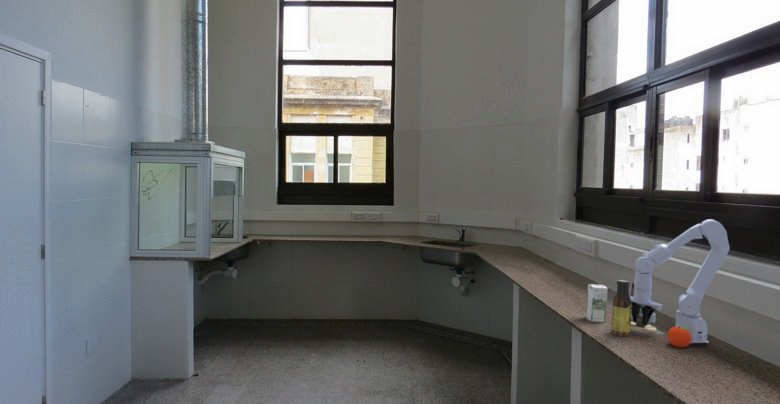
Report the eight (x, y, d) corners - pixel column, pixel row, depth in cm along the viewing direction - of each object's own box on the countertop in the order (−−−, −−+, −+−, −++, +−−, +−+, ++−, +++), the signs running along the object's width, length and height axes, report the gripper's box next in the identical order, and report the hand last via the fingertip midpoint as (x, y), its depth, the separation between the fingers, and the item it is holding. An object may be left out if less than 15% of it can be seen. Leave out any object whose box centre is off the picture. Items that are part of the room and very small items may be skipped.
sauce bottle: (632, 338, 158) (636, 283, 158) (613, 336, 160) (617, 282, 159) (626, 332, 165) (630, 279, 164) (608, 330, 166) (612, 278, 165)
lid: (663, 333, 164) (663, 320, 164) (637, 333, 163) (638, 320, 162) (642, 324, 175) (643, 311, 175) (618, 324, 173) (619, 311, 173)
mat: (666, 335, 164) (666, 333, 164) (637, 335, 162) (637, 334, 162) (642, 324, 176) (642, 323, 176) (615, 325, 174) (615, 324, 174)
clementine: (690, 345, 153) (692, 325, 153) (697, 352, 147) (698, 331, 147) (664, 342, 156) (665, 322, 156) (669, 348, 150) (670, 327, 149)
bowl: (660, 324, 177) (660, 315, 177) (640, 324, 176) (640, 315, 176) (643, 317, 186) (644, 308, 186) (624, 317, 185) (625, 309, 184)
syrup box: (600, 319, 181) (602, 284, 180) (605, 323, 175) (607, 287, 174) (585, 318, 181) (587, 283, 181) (590, 322, 175) (592, 286, 175)
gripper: (668, 292, 164) (665, 328, 164) (631, 283, 176) (628, 317, 177) (657, 293, 160) (654, 330, 161) (619, 285, 173) (617, 319, 174)
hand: (640, 323), depth 169 cm, fingers closed on lid, 3 cm apart
